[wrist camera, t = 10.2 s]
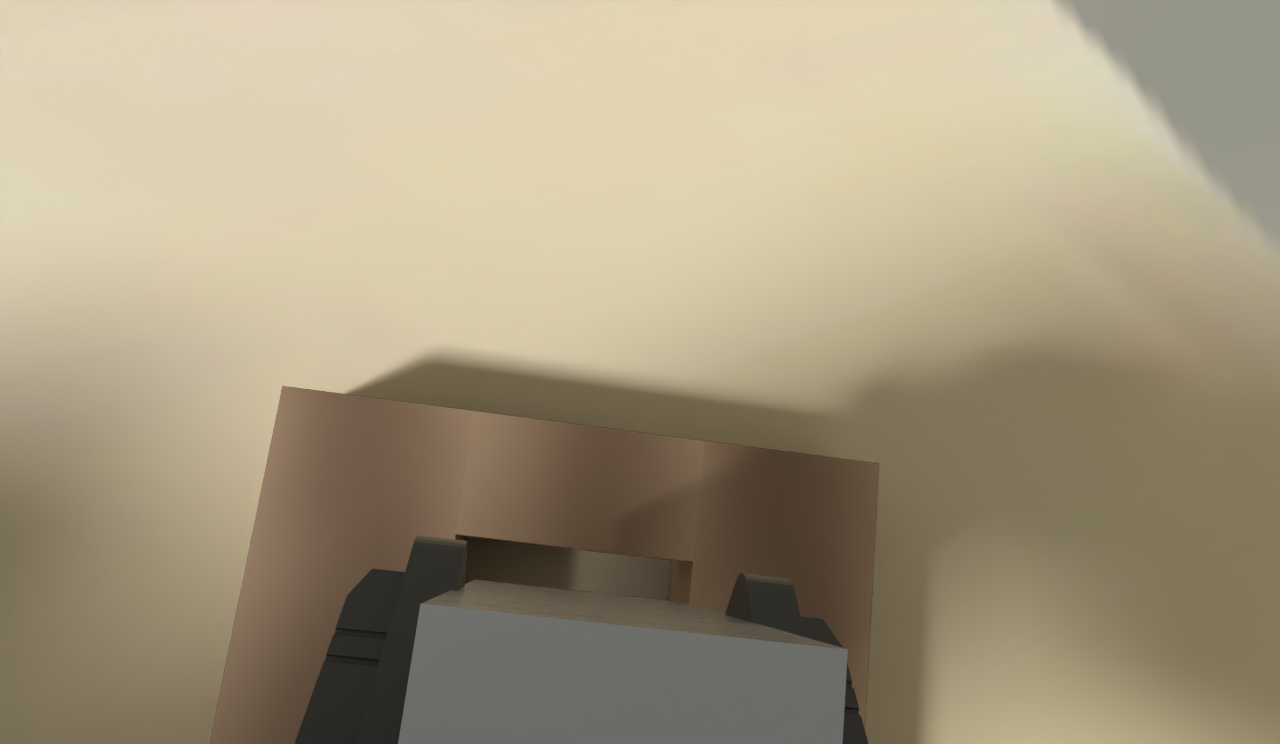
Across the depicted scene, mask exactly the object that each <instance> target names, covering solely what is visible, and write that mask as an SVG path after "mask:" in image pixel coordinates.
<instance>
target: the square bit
mask: <svg viewBox="0 0 1280 744" xmlns="http://www.w3.org/2000/svg"><path fill="white" fill-rule="evenodd" d="M847 655H848V649H845V648H841V647H838V646H834V645H831V644H827V643H824V642H820V641H817V640H813V639H810V638H806V637H803V636H799V635H796V634H792V633H789V632H785V631H782V630H778V629H775V628H771V627H768V626H764V625H761V624H757V623H751V622H747V621H744V620H741V619H737V618H734V617H730V616H727V615H725V614H722V613H719V612H715V611H711V610H708V609H704V608H701V607H697V606H694V605H690V604H687V603H683V602H676V601H667V600H658V599H649V598H640V597H630V596H621V595H612V594H603V593H594V592H585V591H576V590H567V589H558V588H549V587H540V586H530V585H521V584H512V583H503V582H494V581H485V580H476V579H475V580H473V581H471V582H468V583H466V584H465V586H464V587H463V588H460V589H458V590H456V591H452V590H450V591H448V592H446V593H444V594H441V595H439V596H437V597H435V598H432V599H430V600H428V601H426V602H424V603H421V604H420V610H419V616H418V622H417V629H416V635H415V641H414V647H413V654H412V660H411V666H410V672H409V679H408V685H407V691H406V697H405V704H404V710H403V716H402V722H401V729H400V735H399V741H398V744H843V727H844V709H845V691H846V673H847Z"/></svg>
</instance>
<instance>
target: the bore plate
mask: <svg viewBox="0 0 1280 744" xmlns="http://www.w3.org/2000/svg"><path fill="white" fill-rule="evenodd" d="M878 474H879V464H878V463H870V462H863V461H855V460H847V459H840V458H832V457H824V456H817V455H809V454H801V453H794V452H786V451H778V450H771V449H763V448H755V447H748V446H740V445H732V444H724V443H717V442H709V441H701V440H694V439H686V438H678V437H671V436H663V435H655V434H648V433H640V432H632V431H625V430H617V429H609V428H602V427H594V426H586V425H579V424H571V423H563V422H555V421H548V420H540V419H532V418H525V417H517V416H509V415H502V414H494V413H486V412H479V411H471V410H463V409H456V408H448V407H440V406H433V405H425V404H417V403H409V402H402V401H394V400H386V399H379V398H371V397H363V396H356V395H348V394H340V393H333V392H325V391H317V390H310V389H302V388H294V387H287V386H282V391H281V396H280V401H279V406H278V410H277V415H276V420H275V425H274V430H273V435H272V440H271V445H270V450H269V455H268V460H267V464H266V469H265V474H264V479H263V484H262V489H261V494H260V499H259V504H258V509H257V514H256V518H255V523H254V528H253V533H252V538H251V543H250V548H249V553H248V558H247V563H246V567H245V572H244V577H243V582H242V587H241V592H240V597H239V602H238V607H237V612H236V617H235V621H234V626H233V631H232V636H231V641H230V646H229V651H228V656H227V661H226V666H225V671H224V675H223V680H222V685H221V690H220V695H219V700H218V705H217V710H216V715H215V720H214V725H213V729H212V734H211V739H210V744H295V741H296V738H297V735H298V732H299V730H300V727H301V724H302V721H303V718H304V715H305V713H306V710H307V707H308V704H309V701H310V698H311V696H312V693H313V690H314V687H315V684H316V682H317V679H318V676H319V673H320V670H321V667H322V665H323V662H324V661H325V659H326V653H327V651H328V648H329V645H330V642H331V639H332V636H333V634H335V629H336V625H337V622H338V619H339V617H340V614H341V611H342V608H343V605H344V603H345V600H346V597H347V595H348V594H349V593H350V592H351V590H352V589H353V588H354V587H355V586H356V585H357V584H358V583H359V582H360V581H361V580H362V579H363V578H364V577H365V576H366V575H367V574H368V573H369V571H370V570H371V569H372V568H373V569H382V570H391V571H400V572H405V571H406V567H407V564H408V560H409V557H410V553H411V550H412V546H413V543H414V540H415V538H416V536H417V535H419V536H428V537H437V538H445V539H454V540H463V541H464V537H472V538H481V539H489V540H498V541H507V542H515V543H524V544H533V545H541V546H550V547H558V548H567V549H576V550H584V551H593V552H602V553H610V554H619V555H628V556H636V557H645V558H654V559H662V560H671V561H672V562H671V571H670V581H669V591H668V601H676V602H683V603H687V604H690V605H694V606H697V607H701V608H704V609H708V610H711V611H715V612H719V613H722V614H725V613H726V610H727V607H728V604H729V601H730V598H731V595H732V591H733V588H734V585H735V582H736V579H737V577H738V576H739V574H741V573H744V574H753V575H762V576H770V577H779V578H788V579H790V580H791V581H792V583H793V585H794V589H795V593H796V598H797V602H798V607H799V612H800V616H801V617H810V618H819V619H823V620H824V621H825V623H826V624H827V625H828V627H829V628H830V630H831V631H832V633H833V634H834V635H835V637H836V638H837V640H838V641H839V643H840V644H841V645H842V647H843V648H845V649H848V655H847V663H848V667H849V671H850V675H851V678H852V688H854V690H855V694H856V698H857V702H858V706H859V715H861V718H862V721H863V725H864V729H865V721H866V702H867V683H868V664H869V645H870V626H871V607H872V588H873V569H874V550H875V531H876V512H877V493H878Z"/></svg>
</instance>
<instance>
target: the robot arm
mask: <svg viewBox="0 0 1280 744" xmlns="http://www.w3.org/2000/svg"><path fill="white" fill-rule="evenodd" d="M467 552H468V541H463V540H454V539H445V538H437V537H428V536H419V535H417V536H416V538H415V540H414V543H413V546H412V550H411V553H410V557H409V560H408V564H407V567H406V571H405V572H400V571H391V570H382V569H373V568H372V569H371V570H370V571H369V573H368V574H367V575H366V576H365V577H364V578H363V579H362V580H361V581H360V582H359V583H358V584H357V585H356V586H355V587H354V588H353V589H352V590H351V592H350V593H349V594H348V595H347V597H346V600H345V603H344V605H343V608H342V611H341V614H340V617H339V619H338V622H337V625H336V629H335V634H333V636H332V639H331V642H330V645H329V648H328V651H327V653H326V659H325V661H324V662H323V665H322V667H321V670H320V673H319V676H318V679H317V682H316V684H315V687H314V690H313V693H312V696H311V698H310V701H309V704H308V707H307V710H306V713H305V715H304V718H303V721H302V724H301V727H300V730H299V732H298V735H297V738H296V741H295V744H398V741H399V735H400V729H401V722H402V716H403V710H404V704H405V697H406V691H407V685H408V679H409V672H410V666H411V660H412V654H413V647H414V641H415V635H416V629H417V622H418V616H419V610H420V604H421V603H424V602H426V601H428V600H430V599H432V598H435V597H437V596H439V595H441V594H444V593H446V592H448V591H450V590H452V591H456V590H458V589H460V588H463V587H464V586H465V575H466V563H467ZM725 615H727V616H730V617H734V618H737V619H741V620H744V621H747V622H751V623H757V624H761V625H764V626H768V627H771V628H775V629H778V630H782V631H785V632H789V633H792V634H796V635H799V636H803V637H806V638H810V639H813V640H817V641H820V642H824V643H827V644H831V645H834V646H838V647H841V648H843V647H842V645H841V644H840V643H839V641H838V640H837V638H836V637H835V635H834V634H833V633H832V631H831V630H830V628H829V627H828V625H827V624H826V623H825V621H824V620H823V619H819V618H810V617H801V616H800V612H799V607H798V602H797V598H796V593H795V589H794V585H793V583H792V581H791V580H790V579H788V578H779V577H770V576H762V575H753V574H744V573H741V574H739V576H738V577H737V579H736V582H735V585H734V588H733V591H732V595H731V598H730V601H729V604H728V607H727V610H726V613H725ZM843 744H868V741H867V737H866V733H865V729H864V725H863V721H862V718H861V715H859V706H858V702H857V698H856V694H855V690H854V688H852V678H851V675H850V671H849V667H848V663H847V673H846V691H845V709H844V727H843Z"/></svg>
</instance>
